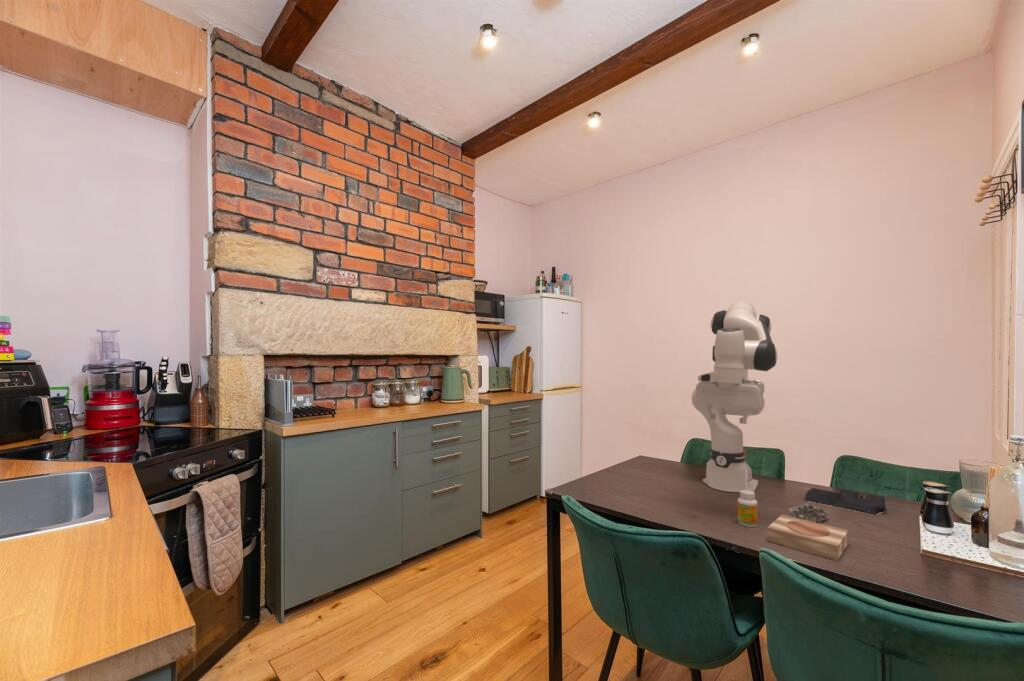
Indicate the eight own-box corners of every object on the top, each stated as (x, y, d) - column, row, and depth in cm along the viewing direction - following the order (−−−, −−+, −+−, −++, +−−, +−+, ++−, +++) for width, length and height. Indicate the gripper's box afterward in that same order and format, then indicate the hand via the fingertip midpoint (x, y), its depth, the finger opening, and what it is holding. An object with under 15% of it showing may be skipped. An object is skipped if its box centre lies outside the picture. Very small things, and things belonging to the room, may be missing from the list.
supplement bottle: (738, 525, 132) (737, 493, 132) (737, 519, 137) (736, 488, 137) (758, 528, 130) (758, 495, 130) (756, 522, 135) (756, 490, 135)
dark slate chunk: (810, 492, 164) (810, 480, 164) (887, 507, 148) (887, 493, 149) (801, 503, 153) (801, 489, 153) (884, 520, 137) (884, 505, 138)
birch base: (782, 526, 131) (782, 513, 131) (848, 543, 119) (848, 529, 120) (767, 540, 121) (767, 526, 121) (838, 561, 110) (837, 545, 110)
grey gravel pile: (811, 527, 131) (811, 513, 131) (786, 519, 138) (786, 505, 138) (831, 521, 136) (831, 507, 136) (806, 513, 143) (806, 500, 143)
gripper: (768, 380, 134) (766, 425, 133) (701, 376, 149) (700, 417, 148) (760, 379, 129) (759, 426, 129) (693, 375, 145) (691, 417, 144)
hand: (727, 421), depth 138 cm, fingers open, 8 cm apart
